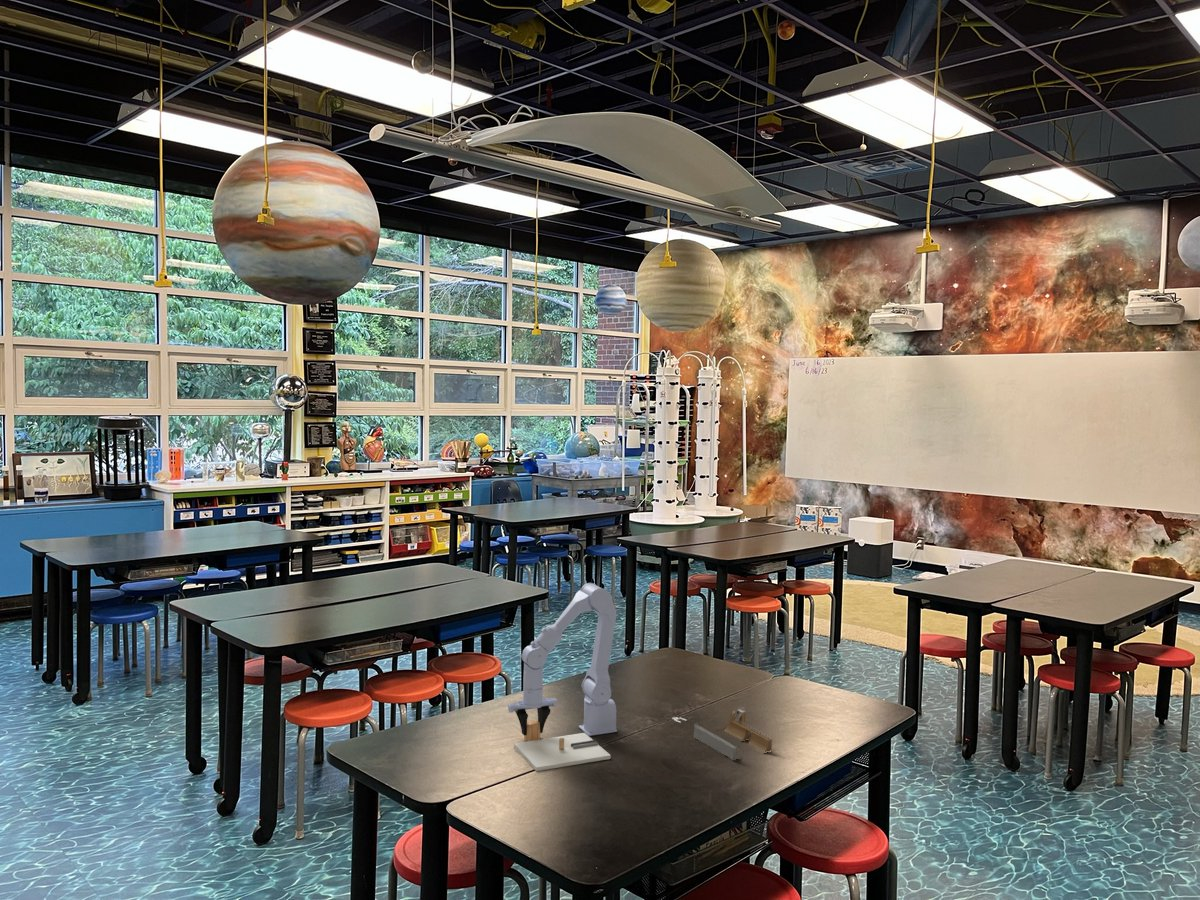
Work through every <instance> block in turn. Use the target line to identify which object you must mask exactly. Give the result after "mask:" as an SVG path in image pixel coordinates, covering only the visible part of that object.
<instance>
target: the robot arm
mask: <svg viewBox="0 0 1200 900" xmlns="http://www.w3.org/2000/svg"><path fill="white" fill-rule="evenodd" d="M615 606H616V605H615V604H614V600H613V596H612V594H611V593H610V592H609V591H608V590H607V589H605V588H602V587H600V586H598V585H597V584H595V583H593V582H588V583H585V584H583V585H582V587H581V588H580V590H578V591H577V592H576V593H575V595H574V597H573V599H572V600H571V601H570V603H569V604H568V605H567V607H566V608H565V609H564V610H563V611H562V613H561V614H560V615H559V617H558V618H557V619H556V621H555V622H554V623H553V624H548V625H546V626H545V627H542V628H541V630H540V631H541V632H540V633H539V634H538V636H537V637H536V638H535V640H532V641H531V642H530V644H529V645H527V646H526V647H524V649H523V650H522V653H520V658H521V660H522V661H523V676H522V677H523V680H522V681H523V682H522V684H523V685H522V686H523V687H522V688H523V689H522V691H523V693H522V694H523V695H522V700H520V701H517V702H513V703H512V702H511V703H508V705H507V707H508V708H507V711H508V712H509V713H514V712H515V714H516V716H517V718H518V721H519V724H520V728H521V729H520V730H521V733H522V735H523V736H524V735H527V721H528V717H529V714H528V713H527V710H535V709H536V710H537V711H536V712H537V721H538V722H540V734H543V731H544V728H545V723H546V721H547V720H548V719H547V718H548V717H549V715H550V714H551V708H550V707H554V708H556V707H558V699H557V698H555V697H550V698H543V696H544V693H543V692H544V689H543V688H544V665H545V664H546V663H547V659H548V658H547V657H548V656H549V654H550V653H551V652H552V651H553V649H554V648H555V647H556V646H557V645H558V644H559V643H560V641H561V640H562V639H563V632H564V631H565V630H566V629H567V628H568V626H570V625H571V623H573V622H574V620H575V619H576V618H577V617H578V616H579V615H580V614H581V613H589V612H592V611H594V612H595V613H596V614H597V616H598V617H597V618H598V619H597V625H596V629H595V636H594V642H593V650H592V655H591V662H590V667H589V668H588V669H587V671H586V675H585V677H584V679H583V680H582V682H581V690H582V692H583V694H584V698H583V699H584V700H583V701H584V702H583V704H584V705H583V724H582V725H581V724H579V725H578V728H579V729H580V730H581V731H582V732H583V733H585V734H587V735H588V736H589V737H591V736H598V735H605V734H610V733H617V732H618V730H617V705H616V703H615V701H614V699H612V698H611V697H612V688H611V676H610V673H609V665H610V661H611V653H612V646H613V639H614V634H615V627H616V622H617V621H616V620H617V615H618V614H617V609H616V607H615Z"/></svg>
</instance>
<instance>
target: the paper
mask: <svg viewBox="0 0 1200 900" xmlns="http://www.w3.org/2000/svg"><path fill="white" fill-rule="evenodd" d="M671 719H672V720H673V721H675V722H677V723H678V724H679V723H680V724H682V721H680V720H683V721H688V719H686V718H682V717H681V716H680V717H678V716H676V717H675V716H673V717H672V718H671Z"/></svg>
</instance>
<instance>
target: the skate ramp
mask: <svg viewBox="0 0 1200 900" xmlns="http://www.w3.org/2000/svg"><path fill="white" fill-rule="evenodd" d="M735 714H736V715H735ZM723 731H725V732H727V733H729V734H731V735H733V736H735V737H737V738H739V739H741V740H746V739H749V740H748V741H747V743H749V744H751V745H753V746H755V747H757V748H759V749H761V750H763V751H765V752H766V751H770V750H771V751H772V750H773V749H772V747H773V746H772V745H773V744H772V737H773V736H770V735H769V734H766V733H765V734H762V731H761V730H759V729H756V730H754V729H752V728H751V725H748V724H746V708H745V707H743V706H739V708H738V709H734V710H732V711H731V713H730V716H729V720H728V722H727V725H726V727H725V728H724V730H723ZM750 733H751V734H750ZM750 735H751V736H750ZM695 738H696V739H698V740H699V741H698V740H697V741H698V742H700V741H701V742H700V743H702V742H703V743H705V744H707V745H708V746H710V747H712V748H713V749H715V750H717V751H719V752H721V753H722V754H724V755H726V756H728V757H730V758H731V759H733V760H734V759H737V758H741V757H740V756H739V754H738V751H737V750H738V749H737V748H738V747H737V744H732V743H730V742H729V741H727V740H725V739H724V738H721V737H720V736H718V735H716V734H714V733H713V732H711V731H710V730H707V729H706V728H704V727H702V726H701V725H699V724H698V722H694V724H693V739H695ZM696 739H695V740H696ZM703 743H702V744H703ZM705 744H704V745H705ZM707 745H706V746H707ZM735 745H736V746H735ZM708 746H707V747H708ZM710 747H709V748H710ZM712 748H711V749H712ZM713 749H712V750H713ZM715 750H714V751H715ZM717 751H716V752H717ZM719 752H718V753H719ZM722 754H721V755H722ZM724 755H723V756H724Z"/></svg>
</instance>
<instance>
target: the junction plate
mask: <svg viewBox="0 0 1200 900" xmlns="http://www.w3.org/2000/svg"><path fill="white" fill-rule="evenodd" d="M513 747H514V748H515V749H516V751H517V752H518V753H519V755H521V757H522V758H524V760H525V761H526V762H527V763H528V764H529V765H530V766H531V767H532V769H533V770H534V771H535V772H540V771H545V770H552V769H556V768H563V767H569V766H574V765H575V766H577V765H581V764H588V763H593V762H594V763H595V762H599V761H604V760H610V759H611V754H610V753H609V752H607V751H606V750H605V749H604V748H603V747H602V746H601V745H599V742H598V741H596V740H595V739H592V737H591V736H588V735H587V734H586V733H585V732H582V733H574V734H568V735H567V734H566V735H561V736H560V735H559V736H553V737H546V738H540V739H539V740H533V741H527V740H525V741H521V742H515V743H513Z"/></svg>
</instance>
